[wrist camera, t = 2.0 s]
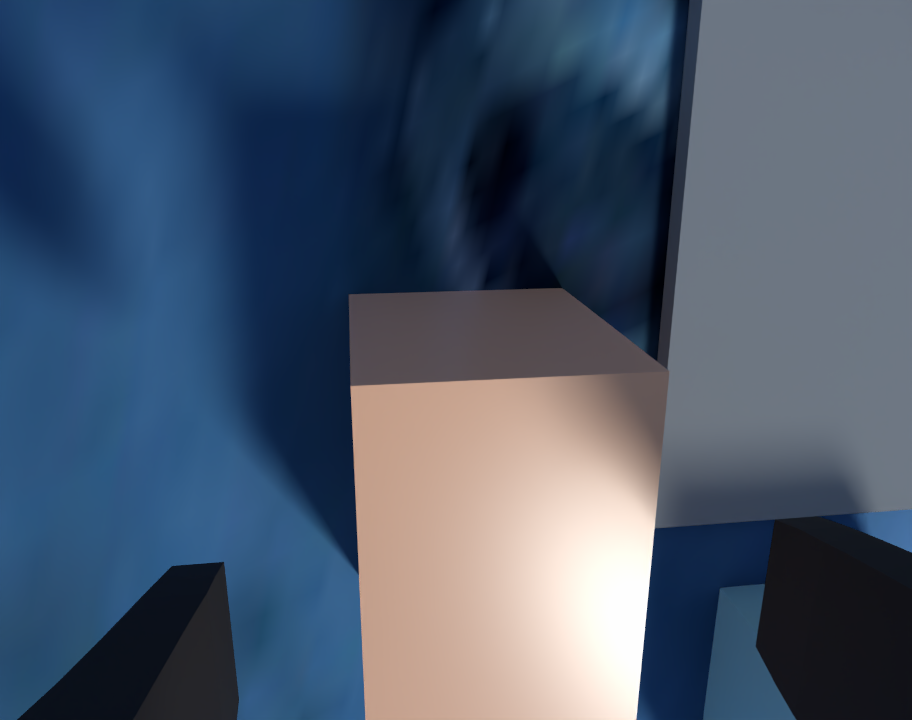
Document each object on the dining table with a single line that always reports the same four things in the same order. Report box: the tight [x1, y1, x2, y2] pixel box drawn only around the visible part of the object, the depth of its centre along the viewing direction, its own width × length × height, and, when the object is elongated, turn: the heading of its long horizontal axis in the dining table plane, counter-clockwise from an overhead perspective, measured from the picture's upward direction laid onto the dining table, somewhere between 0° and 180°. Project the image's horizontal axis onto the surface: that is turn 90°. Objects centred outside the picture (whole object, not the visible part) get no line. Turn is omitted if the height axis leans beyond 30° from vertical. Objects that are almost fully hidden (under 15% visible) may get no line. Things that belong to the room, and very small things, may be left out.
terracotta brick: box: [349, 288, 670, 720], centre depth 12 cm, size 4×6×5 cm, turn 0°
